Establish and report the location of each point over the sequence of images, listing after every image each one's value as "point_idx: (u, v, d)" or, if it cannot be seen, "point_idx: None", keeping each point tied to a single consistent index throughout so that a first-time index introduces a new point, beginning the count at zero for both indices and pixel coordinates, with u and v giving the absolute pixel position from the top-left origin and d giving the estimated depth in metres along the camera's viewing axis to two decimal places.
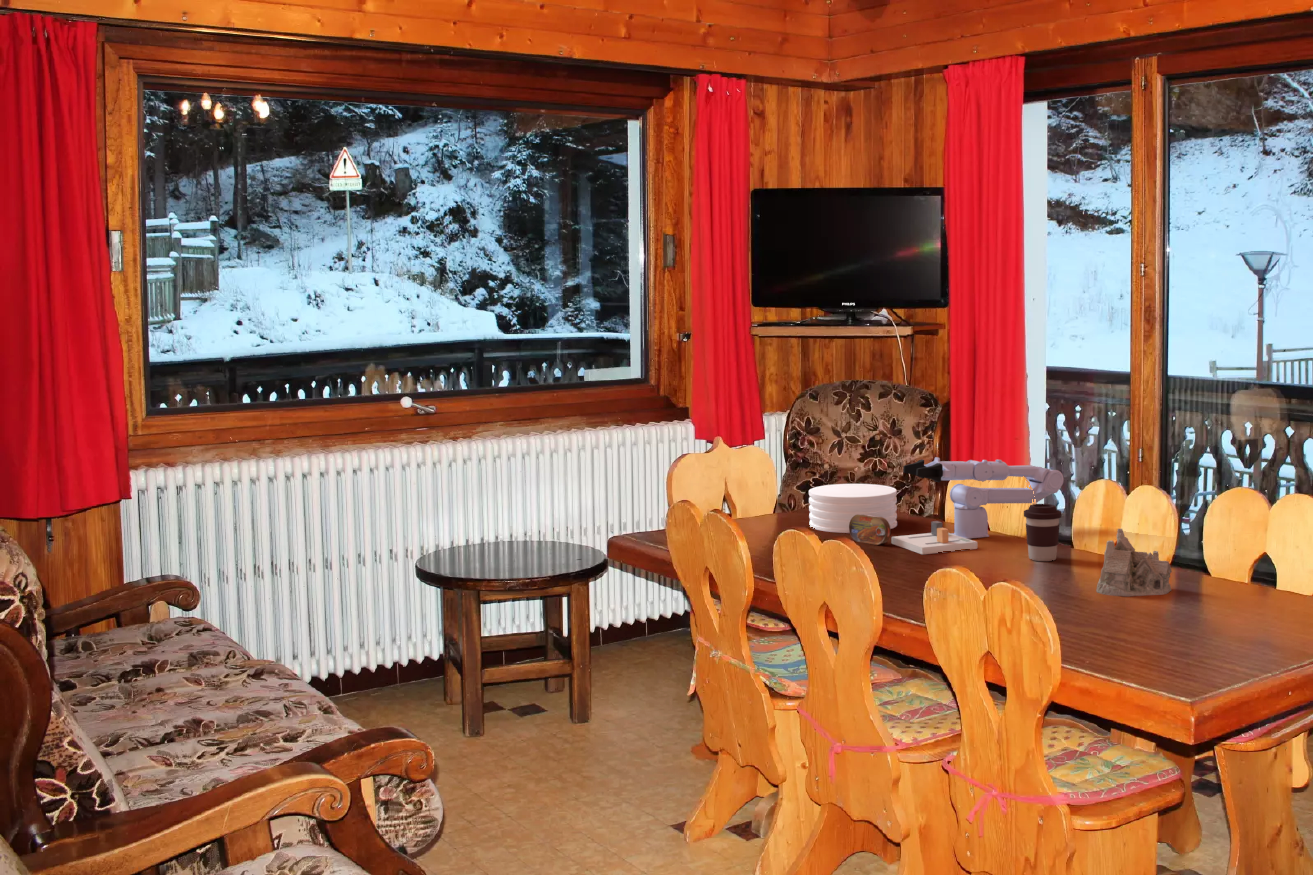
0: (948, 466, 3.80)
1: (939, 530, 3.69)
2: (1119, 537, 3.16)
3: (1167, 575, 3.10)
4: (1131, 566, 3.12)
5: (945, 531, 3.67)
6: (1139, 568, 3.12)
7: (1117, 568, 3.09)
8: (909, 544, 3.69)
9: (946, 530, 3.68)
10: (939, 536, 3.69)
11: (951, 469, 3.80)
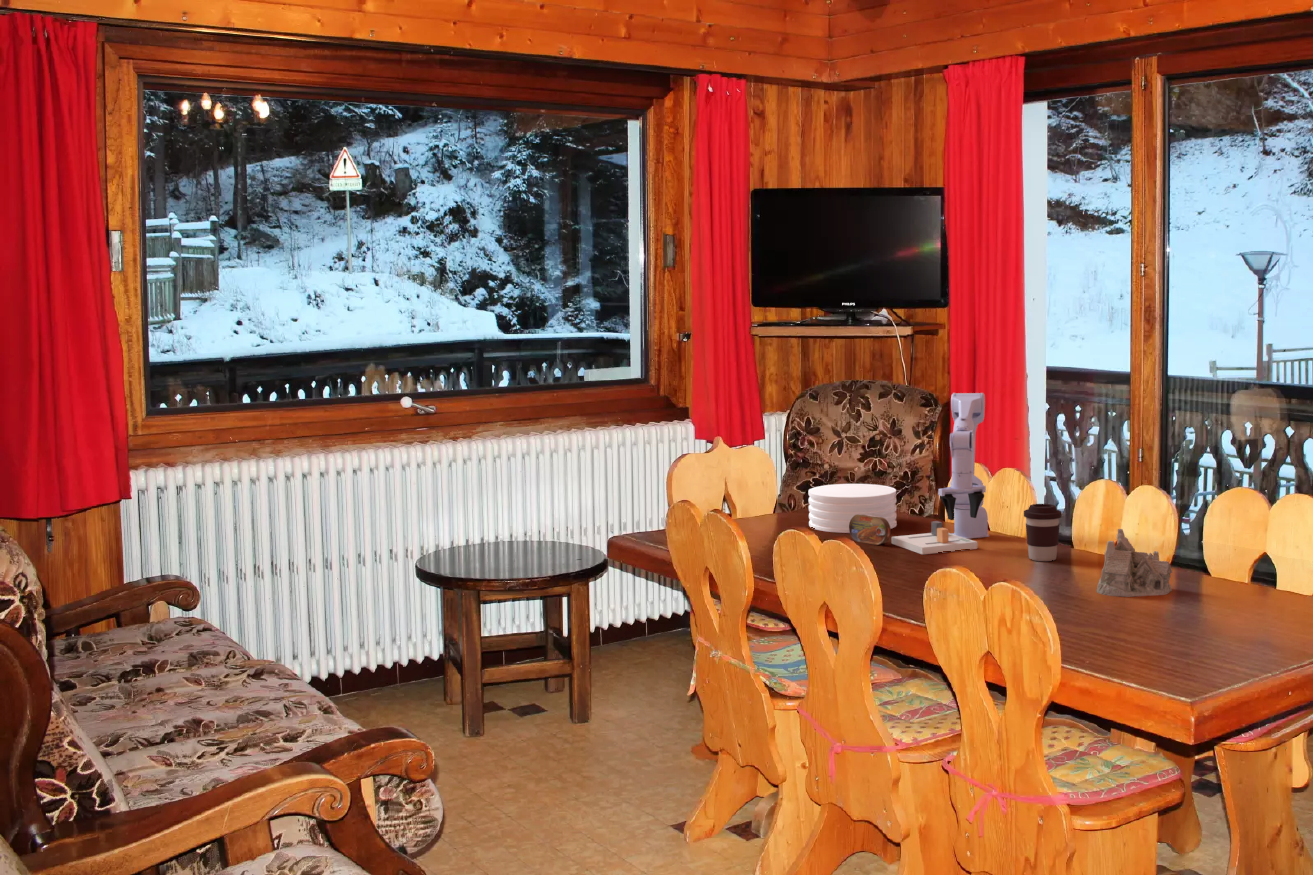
0: (972, 479, 3.68)
1: (939, 530, 3.69)
2: (1119, 537, 3.16)
3: (1167, 575, 3.10)
4: (1131, 566, 3.11)
5: (945, 531, 3.67)
6: (1139, 568, 3.11)
7: (1118, 568, 3.09)
8: (909, 544, 3.69)
9: (946, 530, 3.68)
10: (939, 536, 3.69)
11: None
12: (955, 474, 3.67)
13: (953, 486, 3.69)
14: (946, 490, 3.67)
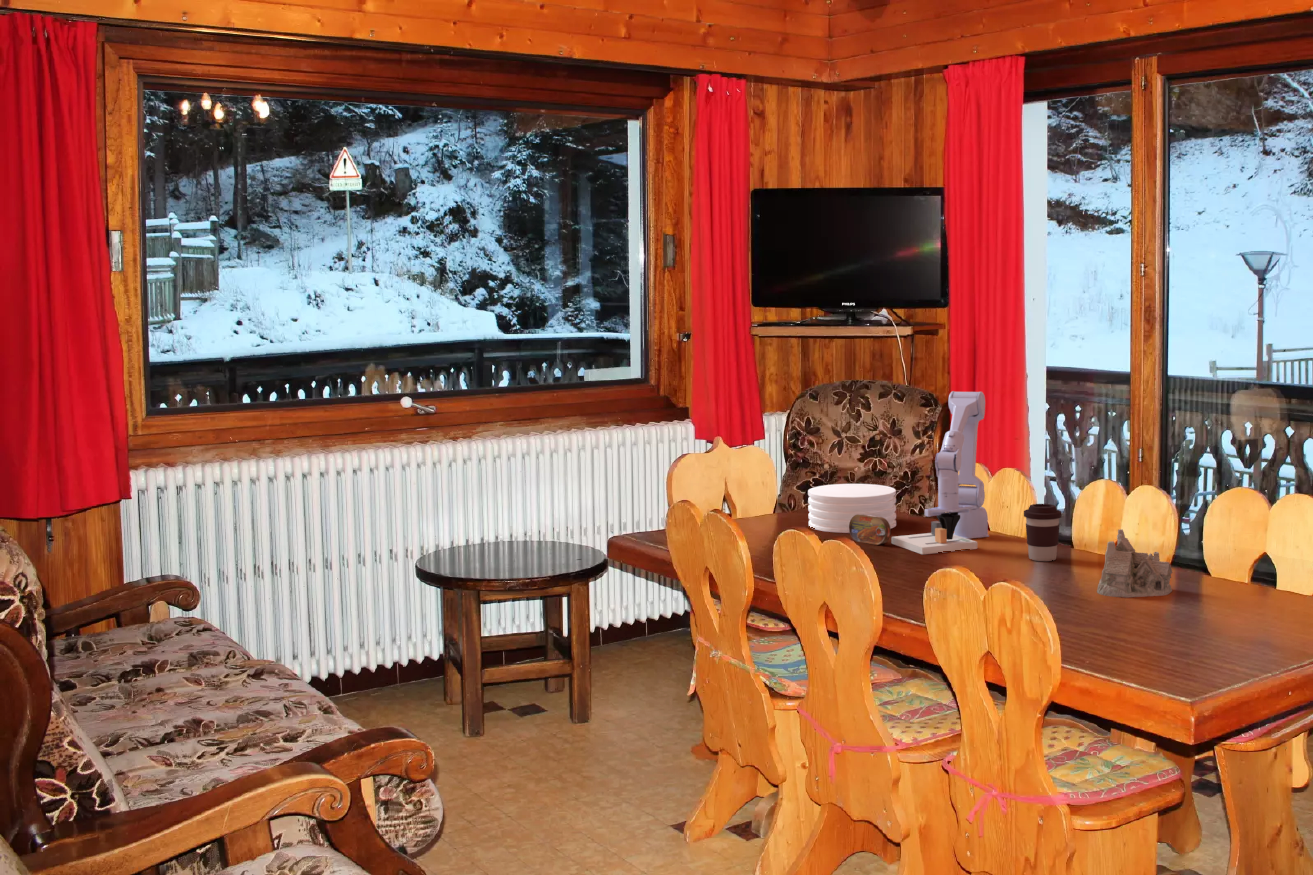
0: (958, 500, 3.68)
1: (937, 530, 3.68)
2: (1120, 538, 3.15)
3: (1168, 576, 3.09)
4: (1132, 567, 3.11)
5: (943, 531, 3.67)
6: (1140, 569, 3.11)
7: (1119, 569, 3.08)
8: (909, 544, 3.69)
9: (944, 530, 3.67)
10: (937, 536, 3.69)
11: None
12: (941, 494, 3.67)
13: (939, 506, 3.68)
14: (932, 510, 3.66)
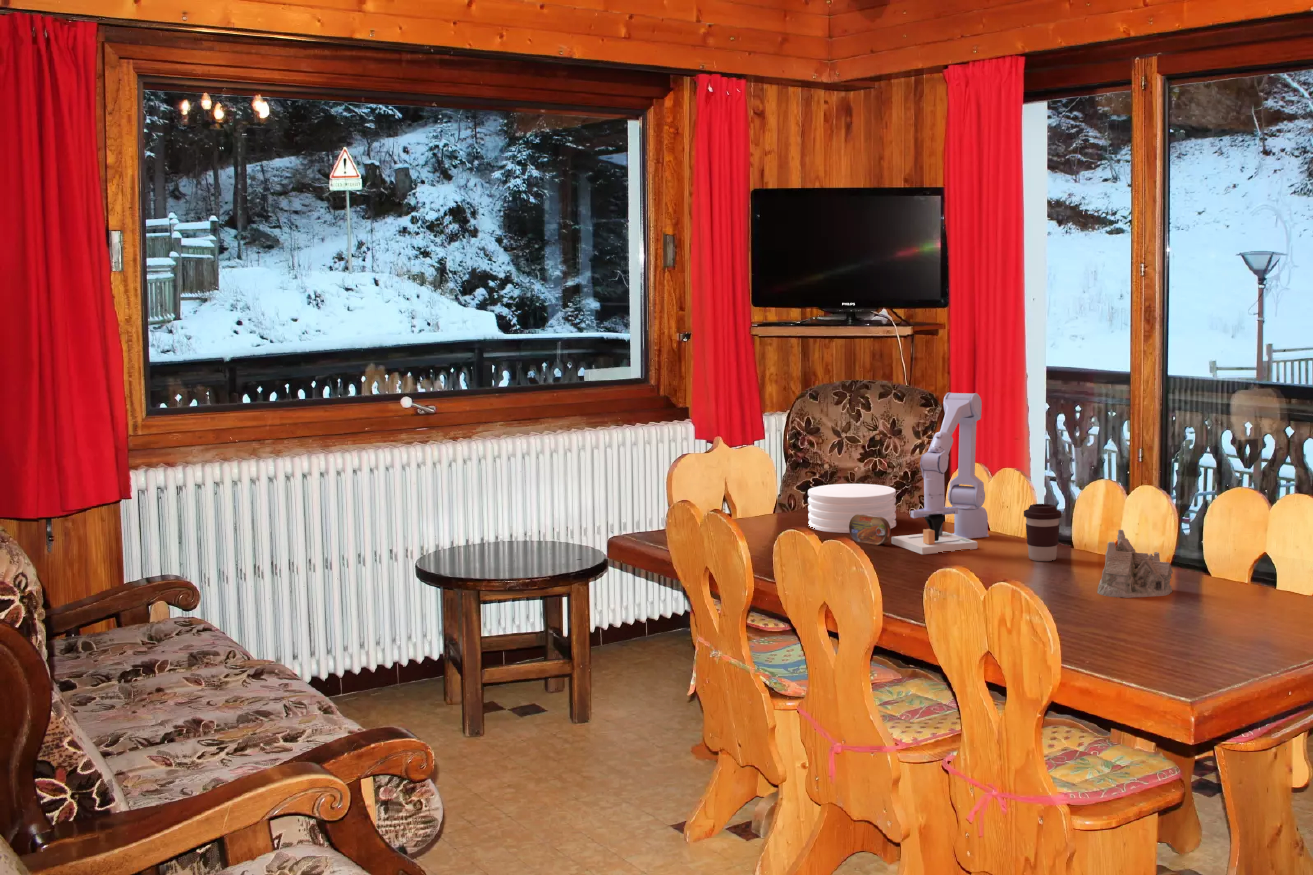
0: None
1: (925, 531, 3.67)
2: (1120, 538, 3.15)
3: (1168, 576, 3.09)
4: (1132, 567, 3.10)
5: (931, 532, 3.66)
6: (1140, 569, 3.10)
7: (1119, 569, 3.08)
8: (909, 544, 3.69)
9: (932, 531, 3.66)
10: (925, 537, 3.67)
11: None
12: (927, 496, 3.65)
13: (925, 508, 3.66)
14: (918, 512, 3.64)
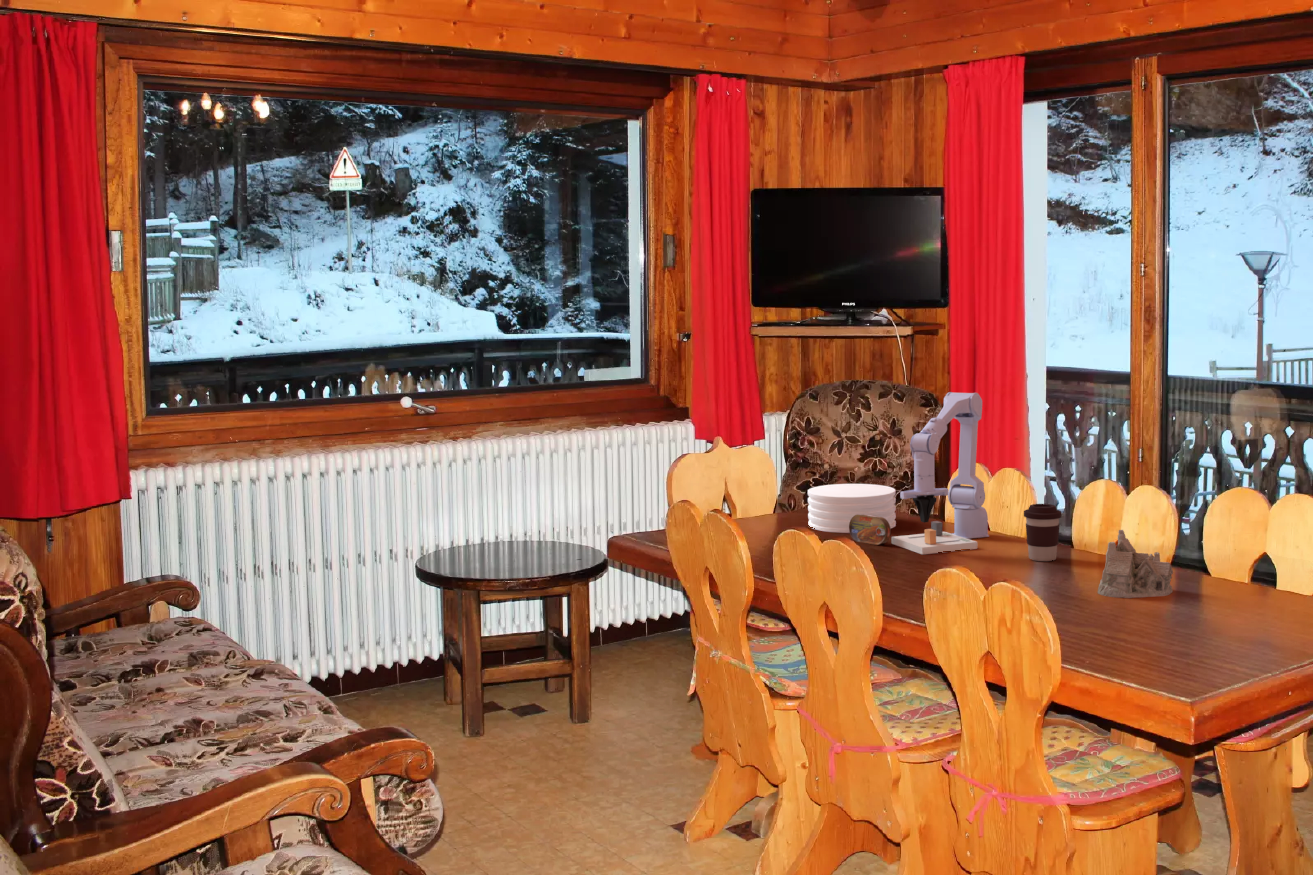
0: (934, 482, 3.65)
1: (927, 531, 3.67)
2: (1120, 538, 3.14)
3: (1169, 576, 3.09)
4: (1133, 567, 3.10)
5: (933, 532, 3.66)
6: (1140, 569, 3.10)
7: (1119, 570, 3.08)
8: (909, 544, 3.69)
9: (934, 531, 3.66)
10: (927, 537, 3.68)
11: None
12: (917, 477, 3.63)
13: (915, 489, 3.65)
14: (908, 493, 3.63)
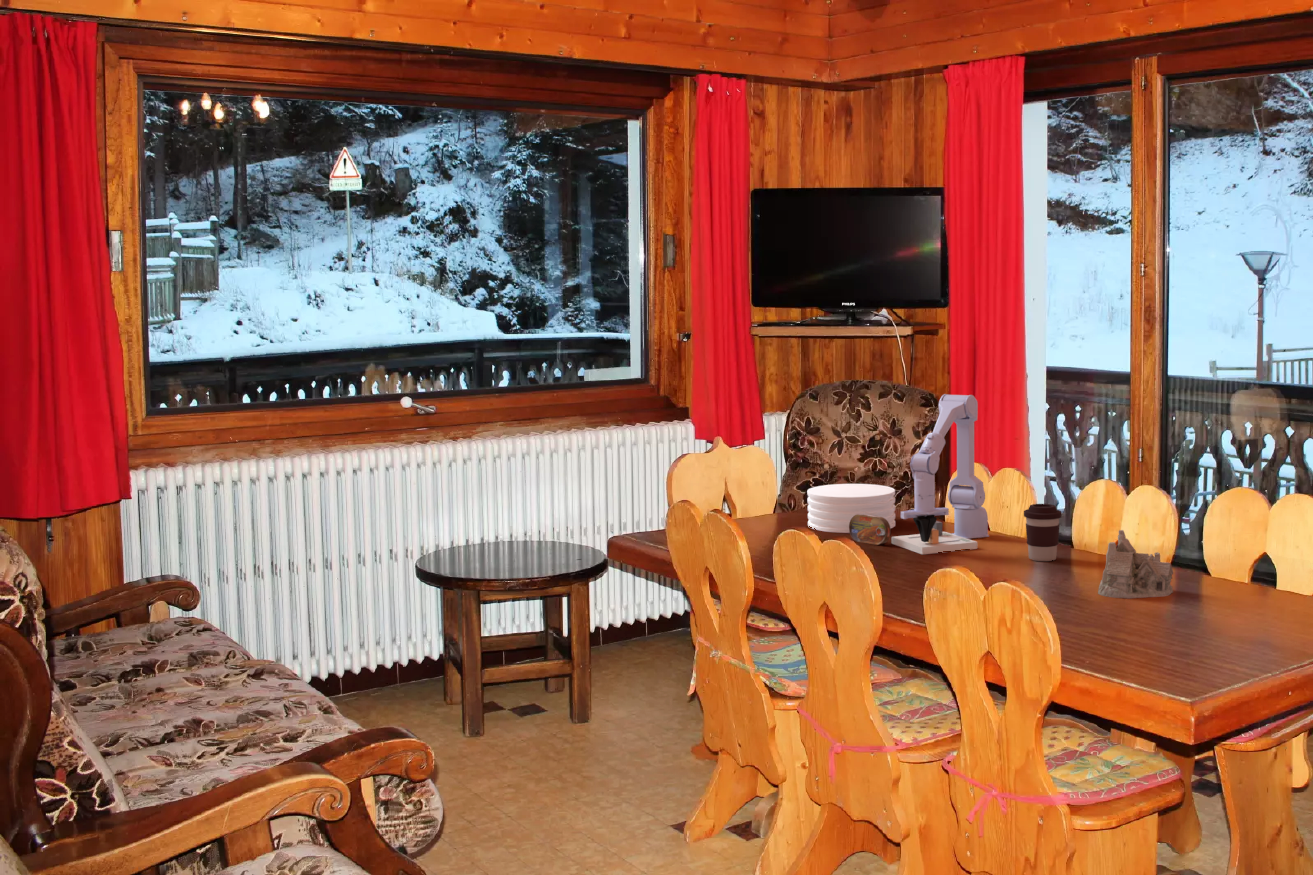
0: (934, 502, 3.65)
1: None
2: (1120, 539, 3.14)
3: (1169, 577, 3.08)
4: (1133, 568, 3.10)
5: (935, 532, 3.66)
6: (1141, 570, 3.10)
7: (1120, 570, 3.07)
8: (909, 544, 3.69)
9: (936, 531, 3.67)
10: None
11: None
12: (917, 497, 3.64)
13: (916, 509, 3.65)
14: (908, 513, 3.63)
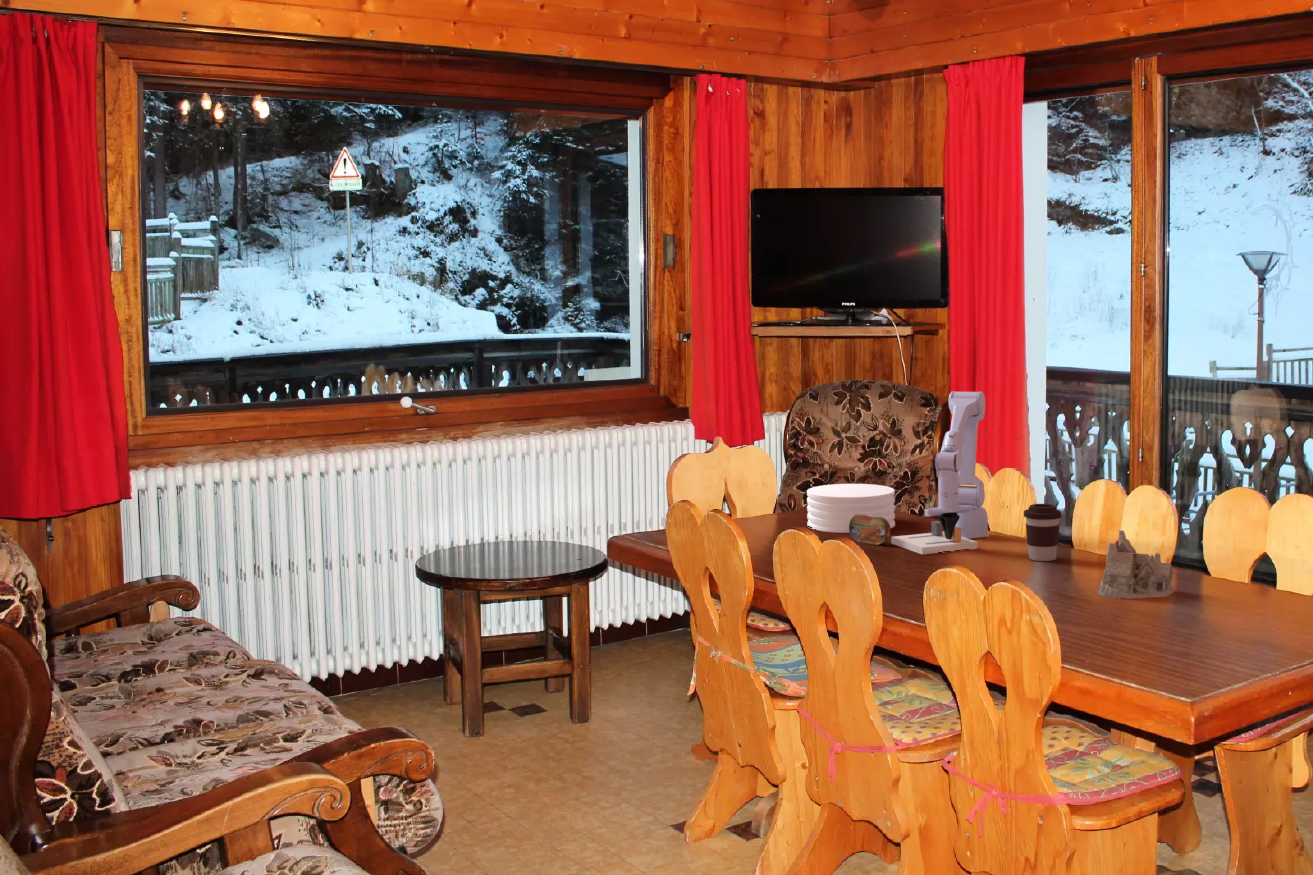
0: (958, 500, 3.68)
1: None
2: (1121, 539, 3.14)
3: (1169, 577, 3.08)
4: (1133, 568, 3.09)
5: (958, 530, 3.69)
6: (1141, 570, 3.09)
7: (1120, 570, 3.07)
8: (909, 544, 3.69)
9: (959, 529, 3.69)
10: (952, 535, 3.70)
11: None
12: (941, 494, 3.67)
13: (939, 506, 3.68)
14: (932, 510, 3.66)
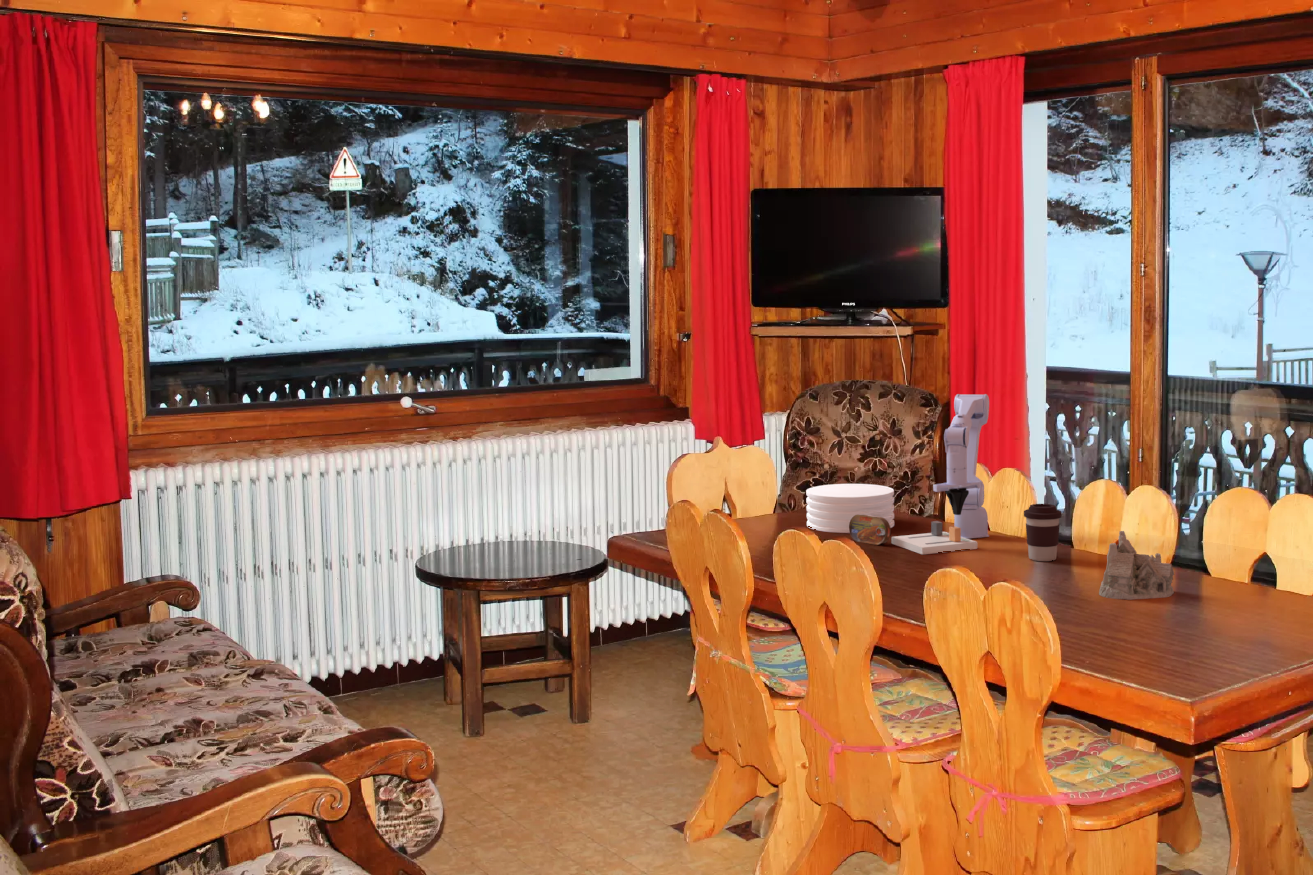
0: (966, 475, 3.70)
1: (951, 529, 3.70)
2: (1121, 539, 3.13)
3: (1170, 578, 3.07)
4: (1134, 569, 3.09)
5: (957, 530, 3.69)
6: (1142, 571, 3.09)
7: (1121, 571, 3.06)
8: (909, 544, 3.69)
9: (958, 529, 3.69)
10: (951, 535, 3.70)
11: None
12: (950, 470, 3.69)
13: (948, 482, 3.70)
14: (941, 486, 3.68)
